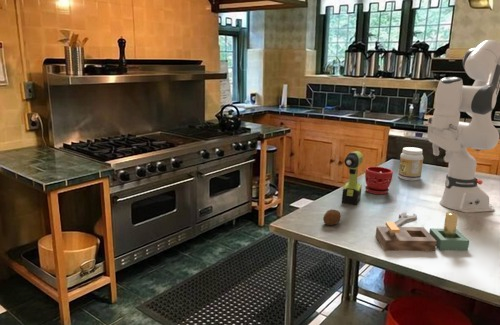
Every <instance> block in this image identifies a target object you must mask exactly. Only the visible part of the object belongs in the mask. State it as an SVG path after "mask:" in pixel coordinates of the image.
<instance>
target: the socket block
mask: <svg viewBox="0 0 500 325" xmlns="http://www.w3.org/2000/svg"><path fill="white" fill-rule="evenodd" d="M375 228H376V230H375V237H376V239H377V240H378V242H379V243H380V246H381V247H382V248H383V250H384V251H388V252H389V251H395V252H405V251H407V252H436V249H437V247H436V243H437V241H436V240H435V239H434V238H433V237H432V236H431V235H430V233H429V232H430V231H428V230H427V229H426V228H425V227H424V226H420V227H419V226H399V227H398V228H399V229H400V233H395V236H391V235H390V234H389V229H388V228H387V226H380V225H379V226H376V227H375Z"/></svg>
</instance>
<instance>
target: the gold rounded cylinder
mask: <svg viewBox="0 0 500 325" xmlns="http://www.w3.org/2000/svg"><path fill="white" fill-rule="evenodd" d="M458 218H459V213H456V212H452V211H451V212H450V211H447V212H445V218H444V225H443V229H444V231H443V237H444V238H455V233H456V229H457V225H458Z"/></svg>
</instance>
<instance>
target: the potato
mask: <svg viewBox="0 0 500 325" xmlns="http://www.w3.org/2000/svg"><path fill="white" fill-rule="evenodd" d="M341 216H342V214H341V212H340V210H337V209H332V208H331V209H329V210H327V211H326V212H325V213H324V215H323V218H322V219H323V223H324V224H325V225H327V226H333V225H334V226H335V225H337V224H338V223H340V221H341V219H342V217H341Z"/></svg>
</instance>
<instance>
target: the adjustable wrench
mask: <svg viewBox="0 0 500 325" xmlns="http://www.w3.org/2000/svg"><path fill="white" fill-rule="evenodd" d="M417 217H418V215H417V214H416V213H412V215H407V212H406V211H405V212H401V213H399V214H398V218H399V219H397V220H396V221H395V222H394V221H393V222H394V223H395V224H396V226H397V227H402V225H404V224H405V223H407V222H411V221H416V220H417V219H418V218H417Z"/></svg>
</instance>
